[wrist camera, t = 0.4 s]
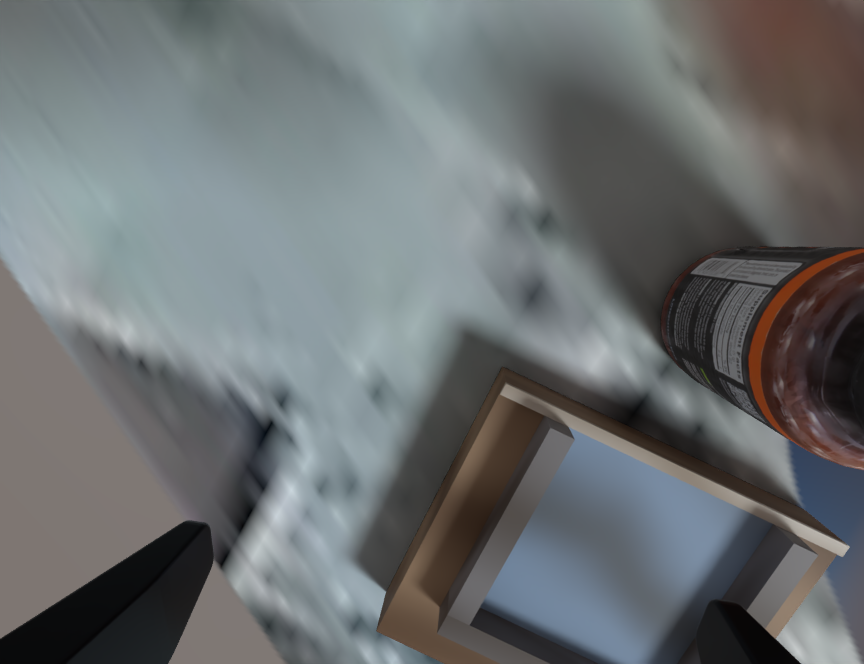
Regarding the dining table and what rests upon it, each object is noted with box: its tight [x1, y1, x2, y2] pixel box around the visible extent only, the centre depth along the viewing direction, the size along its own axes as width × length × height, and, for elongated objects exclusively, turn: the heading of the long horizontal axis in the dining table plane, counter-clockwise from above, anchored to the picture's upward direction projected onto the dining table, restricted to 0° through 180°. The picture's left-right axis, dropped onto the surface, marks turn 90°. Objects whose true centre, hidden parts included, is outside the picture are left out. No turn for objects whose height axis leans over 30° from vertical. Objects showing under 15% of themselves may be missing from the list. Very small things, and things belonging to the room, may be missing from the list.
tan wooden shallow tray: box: [376, 367, 849, 664], centre depth 22 cm, size 13×15×4 cm
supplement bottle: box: [661, 246, 864, 470], centre depth 15 cm, size 6×6×11 cm
